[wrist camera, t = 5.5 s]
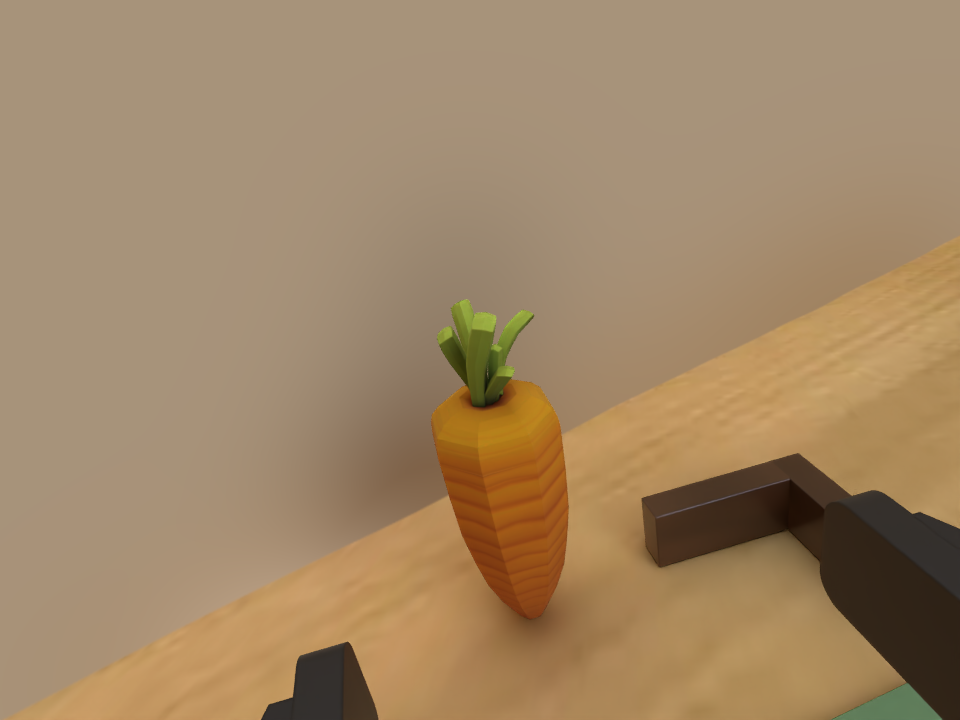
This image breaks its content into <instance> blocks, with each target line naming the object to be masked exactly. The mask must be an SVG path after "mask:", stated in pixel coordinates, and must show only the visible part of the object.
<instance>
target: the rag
mask: <svg viewBox="0 0 960 720" xmlns="http://www.w3.org/2000/svg"><path fill="white" fill-rule="evenodd" d="M831 720H942V719H941V717H940V716H939V715H938V714H937V713H936V712H935V711H934V710H933V709H932V708H931V707H930V706H929V705H928V704H927V703H926V702H925V701H924V700H923V699H922V697H921V696H920V695H919V694H918V693H917V692H916V691H915V690H914V689H913V688H912V687H911V686H910V685H909V684H908V683H906V684H904V685H902V686H900V687H898V688H896V689H894V690H892V691H890V692H887V693H885V694H883V695H881V696H879V697H877V698H875V699H873V700H871V701H869V702H867V703H865V704H862V705H860V706H858V707H856V708H854V709H852V710H850V711H848V712H846V713H844V714H842V715H840V716H837V717H835V718H833V719H831Z"/></svg>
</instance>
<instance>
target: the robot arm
mask: <svg viewBox="0 0 960 720" xmlns="http://www.w3.org/2000/svg"><path fill="white" fill-rule="evenodd" d="M820 575H821V580H822V583H823V586H824V588H825V591H826V593H827V595H828V596H829V598H830V600H831V601H832V603H833V604H834V605H835V607H836V608H837V609H838V610H839V611H840V612H841V613H842V614H843V615H844V617H845V618H846V619H847V620H848V621H849V622H850V623H851V624H852V625H853V626H854V627H855V628H856V629H857V630H858V631H859V632H860V633H861V634H862V635H863V636H864V638H865V639H866V640H867V641H868V642H869V643H870V644H871V645H872V646H873V647H874V648H875V649H876V650H877V651H878V652H879V653H880V654H881V655H882V656H883V658H884V659H885V660H886V661H887V662H888V663H889V664H890V665H891V666H892V667H893V668H894V669H895V670H896V671H897V672H898V673H899V674H900V675H901V676H902V678H903V679H904V680H905V681H906V682H907V683H908V684H909V685H910V686H911V687H912V688H913V689H914V690H915V691H916V692H917V693H918V694H919V695H920V696H921V697H922V699H923V700H924V701H925V702H926V703H927V704H928V705H929V706H930V707H931V708H932V709H933V710H934V711H935V712H936V713H937V714H938V715H939V716H940V717H941V719H942V720H960V529H959V528H956V527H954V526H952V525H949V524H947V523H945V522H942V521H940V520H937V519H935V518H933V517H930V516H928V515H926V514H923V513H921V512H918V513H915V514H912V513H910V512H909V511H908V510H906V509H905V508H903V507H902V506H901V505H899V504H898V503H897V502H895V501H894V500H893V499H891V498H890V497H889V496H887V495H886V494H884V493H882V492H879V491H876V490H871V491H868V492H864V493H861V494H857V495H854V496H850V497H847V498H844V499H840V500H837V501H833V502H830V503H829V504H827V506H826V507H825V510H824V520H823V534H822V547H821V561H820ZM261 720H378V715H377V711H376V708H375V704H374V702H373V699H372V696H371V694H370V691H369V689H368V686H367V684H366V681H365V679H364V676H363V674H362V671H361V668H360V666H359V663H358V661H357V658H356V656H355V653H354V651H353V648H352V646H351V645H350V643H349V642H345V643H342V644H338V645H335V646H332V647H328V648H325V649H321V650H318V651H314V652H311V653H308V654H304V655H301V656H300V657H299V658H298V661H297V665H296V673H295V683H294V692H293V698H289V699H286V700H283V701H279V702H276V703H273V704H269V705H268V707H267V709H266V711H265V713H264V715H263V717H262V719H261Z"/></svg>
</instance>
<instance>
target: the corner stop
mask: <svg viewBox="0 0 960 720" xmlns="http://www.w3.org/2000/svg"><path fill="white" fill-rule="evenodd" d="M850 496H851V495H850V494H849V493H847V492H846V491H845V490H844V489H842V488H841V487H840V486H839V485H837V484H836V483H835V482H834V481H832V480H831V479H830V478H829V477H827V476H826V475H825V474H824V473H822V472H821V471H820V470H819V469H817V468H816V467H815V466H814V465H812V464H811V463H810V462H809V461H807V460H806V459H805V458H804V457H802V456H801V455H800V454H799V453H797V454H793V455H790V456H786V457H783V458H779V459H776V460H772V461H769V462H766V463H762V464H759V465H755V466H752V467H748V468H745V469H741V470H738V471H734V472H731V473H727V474H724V475H720V476H717V477H713V478H710V479H706V480H703V481H699V482H696V483H692V484H689V485H686V486H682V487H679V488H675V489H672V490H668V491H665V492H661V493H658V494H654V495H651V496H647V497H644V498H642V509H643V520H644V531H645V542H646V547H647V549H648V550H649V552H650V553H651V555H652V556H653V558H654V559H655V561H656V563H657V564H658V566H659V567H662V566H665V565H669V564H672V563H675V562H679V561H682V560H685V559H689V558H692V557H695V556H699V555H702V554H706V553H709V552H712V551H716V550H719V549H722V548H726V547H729V546H732V545H736V544H739V543H742V542H746V541H749V540H752V539H756V538H759V537H762V536H766V535H769V534H773V533H776V532H779V531H783V530H786V529H789V530H790V531H791V532H792V533H793V534H794V535H795V536H796V537H797V538H798V539H799V540H800V541H801V542H802V543H803V544H804V545H805V546H806V547H807V548H808V549H809V550H810V551H811V552H812V553H813V554H814V555H815V556H816V557H817V558H818V559H819V560H820V561H821V547H822V534H823V520H824V510H825V507H826V506H827V504H829V503H830V502H833V501H837V500H840V499H844V498H847V497H850Z"/></svg>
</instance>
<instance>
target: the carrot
mask: <svg viewBox="0 0 960 720" xmlns="http://www.w3.org/2000/svg"><path fill="white" fill-rule="evenodd" d="M451 311H452V316H453V319H454V322H455V325H456V328H457V332H458V335H459V338H460V341H461V343H460V341H459V339H458V337H457V335H456V334H455V332H454V330H453V329H452V327H451V326H449V327H446V328H444V329H443V330H442V331H441V332H439V334H438V337H437V340H438V343H439V346H440V348H441V350H442V352H443V354H444V355H445V357H446V358H447V360H448V361H449V363H450V364H451V366H452V367H453V368H454V370H455V371H456V372H457V373H458V375H459V376H460V377H461V379H462V380H463V381H464V383H465V384H466V385H465V386H463V387H461V388H460V389H459V390H457V391H456V392H455V393H454V394H453V395H451V396H450V397H449V398H448V399H447V400H445V401H444V402H443V403H442V404H441V405H439V406H438V408H437V409H436V410H435V411H434V413H433V414H432V419H431V426H432V432H433V437H434V442H435V446H436V450H437V455H438V459H439V463H440V466H441V470H442V473H443V476H444V480H445V483H446V487H447V490H448V494H449V497H450V500H451V503H452V506H453V509H454V512H455V515H456V518H457V521H458V524H459V527H460V530H461V533H462V536H463V538H464V540H465V542H466V544H467V547H468V549H469V551H470V553H471V555H472V557H473V559H474V561H475V563H476V564H477V566H478V568H479V570H480V572H481V573H482V575H483V577H484V579H485V580H486V582H487V584H488V585H489V587H490V588H491V589H492V590H493V591H494V592H495V593H496V594H497V595H498V597H499V598H500V599H501V600H502V601H503V602H504V603H505V604H507V605H508V606H509V607H511V608H512V609H513V610H514V611H516V612H517V613H518V614H520V615H521V616H523V617H526V618H528V619H532V618H536V617H539V616H541V614H542V613H543V611H544V610H545V608H546V606H547V604H548V602H549V600H550V598H551V596H552V594H553V593H554V591H555V589H556V587H557V584H558V581H559V578H560V574H561V571H562V568H563V565H564V560H565V551H566V542H567V529H568V510H569V505H568V493H567V481H566V469H565V461H564V452H563V444H562V436H561V428H560V423H559V420H558V417H557V415H556V413H555V411H554V409H553V407H552V406H551V404H550V402H549V401H548V399H547V398H546V396H545V394H544V393H543V391H542V390H541V388H540V387H539V386H537V385H535V384H533V383H531V382H525V381H519V380H512V379H511V378H512V376H513V374H514V372H515V370H514V367H510V366H505V362H506V358H507V355H508V353H509V351H510V349H511V347H512V345H513V343H514V341H515V339H516V337H517V335H518V334H519V333H520V332H521V330H522V329H523V328H524V327H525V326H526V325H527V324H528V323H529V322H530V321H531V320H532V319H533V317H534V314H532V313H531V312H529V311H526V310H521V311H520V312H519V313H518V314H517V315H516V316H514V318H513V319H512V320H511V321H510V322H509V323H508V324H507V325H506V326H505V328H504V330H503V332H502V334H501V337H500V339H499V341H498V344H497V345H496V344H494V345H492V343H493V337H494V332H495V326H496V316H495V315H492V314H490V313H487V312H482V313H476V314H475V316H474V313H473V309H472V307H471V304H470V302H469V300H462V301H460V302H458V303H456V304H455V305H454V306H453V307H452V308H451ZM461 344H462V345H461ZM487 370H488V376H487Z"/></svg>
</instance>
